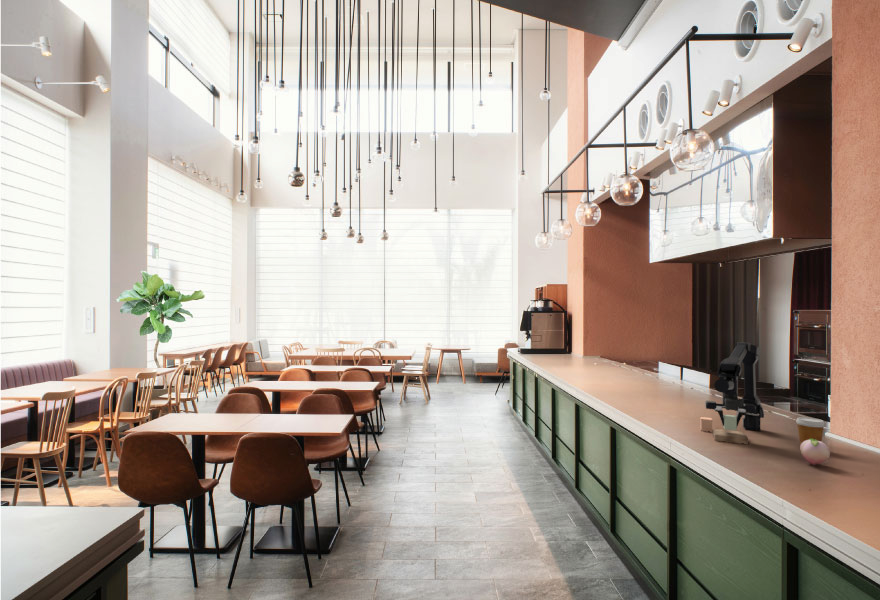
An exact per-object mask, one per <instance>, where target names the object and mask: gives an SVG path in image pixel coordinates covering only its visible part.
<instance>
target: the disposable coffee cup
mask: <svg viewBox="0 0 880 600" xmlns="http://www.w3.org/2000/svg"><path fill="white" fill-rule="evenodd" d="M795 422H796V425H797V431H798V438H799V445H800V446H801V444H802V443H803V442H804V441H806V440H809V439H814V437H815V439H816V440H817V441H820V442H822V439H823V433H824V427H825V425H826V424H825V422H824V420H822V419H819V418H814V417H806V416H805V417H804V416H799V417H797V418H796V420H795ZM800 446H799V447H800Z"/></svg>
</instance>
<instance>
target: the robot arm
mask: <svg viewBox="0 0 880 600" xmlns="http://www.w3.org/2000/svg"><path fill="white" fill-rule="evenodd" d="M760 355H761V348H760V347H759V346H758V345H754V344H751V343H750V342H744V341H743V342H740V341H738V342H736V344H735V347H734V349H733V351H732V352H731V354H730V356H729V357H727V358H724V359H723V360H722V361H721V362H720V363H719V365H718V366H719V367H718V369H717V373H716V377H718V378H719V379H717V380H715V382H714V389H715V390H716V391H717V393H722V399H721V400H722V401H721V402H722V403H719V402H718V403H717V402H716V401H715V400H705V402H704V407H705V409H706V410H714V412H715V413H716V412H717V414H718V416H719V418H720V421H721V424H722V426H724V418H723V415H724V410H723V409H725V410H727V411H735V412H736V415H735V416H736V418H737V427H738V426H739V423H740V421H741V418H742V417H743V418H742V427H743V429H744V430H747V431H758V432H762V429H761V419H764V418H765V411H764V407H763V405H762V403H761V399H760V398H759V396H758V395H757V384H756V383H757V382H756V381H757V379H756V378H757V377H756V364H757V362H758V361H759V359H760ZM741 363H742V364H743V368H742V366H741ZM742 370H743V383H744V384H743V385H744V387H743V388H744V395H743V397H742V398H739V396H738V395H739V391H738V387H739V377H740V376H741V374H742Z"/></svg>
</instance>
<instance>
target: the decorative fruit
mask: <svg viewBox="0 0 880 600" xmlns="http://www.w3.org/2000/svg"><path fill="white" fill-rule="evenodd" d="M799 449H800V450H799V451H800V452H801V455H802V456H803V458H804V459H805V460H806V461H807V462H809V464H811V465H813V466H815V465H818V464H823V463H824V462H826V461H827V460H829V457H830V455H831V453H830V452H831V451H830V448H829V447H828V446H827V444H825V443H824V442H823V441H821V442H820V441H817V440H816V439H815V437H814V439H809V440H806V441H804V442H803V443H802V444H801V446H799Z"/></svg>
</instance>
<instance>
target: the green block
mask: <svg viewBox="0 0 880 600" xmlns="http://www.w3.org/2000/svg"><path fill="white" fill-rule="evenodd" d="M723 418H724V426H723V425H722V426H723V430H729V431H738V429H737V428H738V426H737V418H736V415H733V414H732V415H731V414H723Z"/></svg>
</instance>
